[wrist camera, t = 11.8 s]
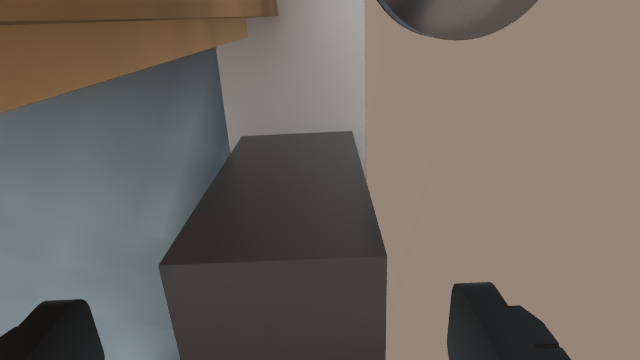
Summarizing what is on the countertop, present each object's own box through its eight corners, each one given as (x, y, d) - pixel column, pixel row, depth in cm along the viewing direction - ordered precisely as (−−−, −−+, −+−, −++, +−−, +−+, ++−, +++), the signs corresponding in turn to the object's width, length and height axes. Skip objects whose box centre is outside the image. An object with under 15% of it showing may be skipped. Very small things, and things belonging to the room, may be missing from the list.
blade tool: (245, 223, 17) (172, 425, 9) (184, -229, 11) (-176, -875, 3) (364, 218, 17) (408, 417, 9) (360, -240, 11) (471, -936, 3)
